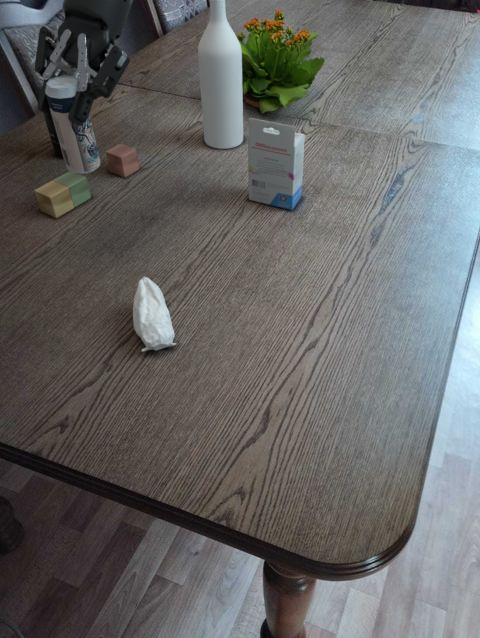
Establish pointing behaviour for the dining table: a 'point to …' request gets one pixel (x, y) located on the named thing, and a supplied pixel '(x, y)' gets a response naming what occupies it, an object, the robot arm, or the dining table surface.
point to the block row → (82, 183)
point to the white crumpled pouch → (152, 316)
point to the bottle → (221, 81)
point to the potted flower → (276, 63)
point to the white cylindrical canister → (71, 127)
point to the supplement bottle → (53, 135)
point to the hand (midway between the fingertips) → (59, 117)
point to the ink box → (275, 163)
